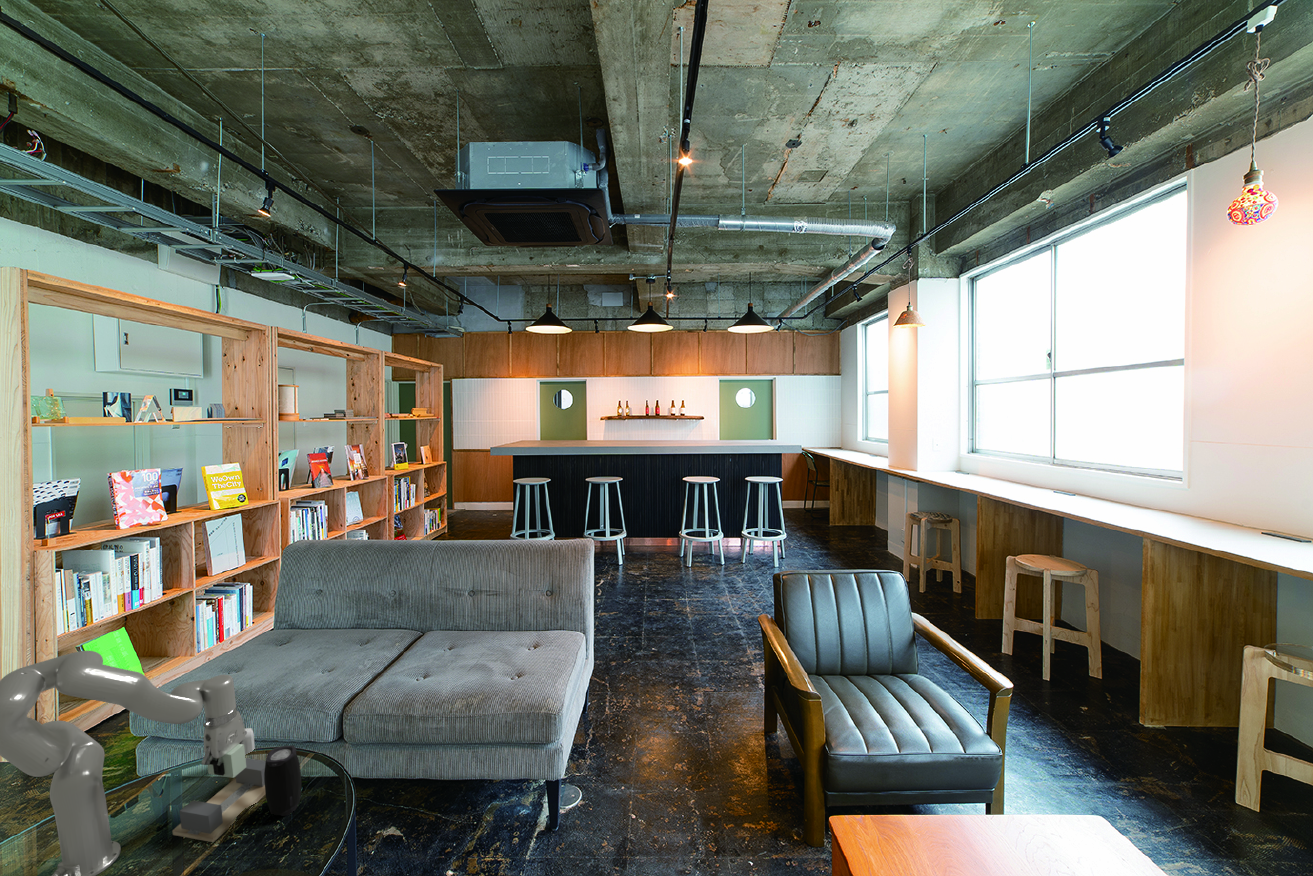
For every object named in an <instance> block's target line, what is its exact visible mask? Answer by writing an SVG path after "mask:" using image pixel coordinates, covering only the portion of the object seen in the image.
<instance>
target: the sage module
mask: <svg viewBox="0 0 1313 876" xmlns="http://www.w3.org/2000/svg"><path fill="white" fill-rule="evenodd" d="M210 760H211V757H210ZM216 760H217V758H216ZM222 763H223V764H224V772H225V774H224V775H223V776H221V775H217V776H220V777H226V778H232V779H235V778H236V775H238V774H239V773H240V772H241V771H242V770H244V769H245V768H246V758H245V749H244V745H243V744H238V745H236V746H235V747H234V748H233V749H231V750H230V751H229V752H227V753H226V754H225V755H224V756H222ZM206 766H207V772H208V774H209V775H213V776H216V775H215V774H214V769H213V765H206Z"/></svg>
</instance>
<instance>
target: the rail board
mask: <svg viewBox="0 0 1313 876" xmlns="http://www.w3.org/2000/svg"><path fill="white" fill-rule="evenodd" d="M265 763H266V760H263V759H256V758H255V759H250V758H246V768H245V769H244V770H242V771H241V772H240V773H239V774H238V775H236V776H235V777H234V778H233V779H232V781H230V782H229V783H228V784H227V785H225V786H224V787H223V788H222V789H221V790H219V791H218V792H217V793H216V794H215V795H214V796H212V797H211V798H209V799H208V800H207V801H206V802H204V801H199V800H194V799H193V800H192V801H190V802H189V803H187V804H186V805H185V806H183V808H181V809H180V810H179V817H180V823H179V824H178V825H177V826H176V827H175V828H174V829H172V836H178V837H183V838H188V839H195V840H198V841H199V840H201V841H205V842H209V843H214V842H215V841H217V839H219V838H220V837H221V836H222V835H223V834H224V833H225V832H227V831H228V830H229V829H230V828H231V827H230V825H232V824H233V823H234V821H235V819H236V817H237V816H238V815H239V814H240V813H241V812H242V811H243V810H244V809H245V808H248V807H249V806H251V805H253V804H255V803H256V804H257V803H258V802H259V801H261V799H263V798H264V797H265V796H266V793H265V783H264V772H265ZM256 804H255V805H256ZM234 824H235V823H234ZM234 824H233V825H234ZM233 825H232V826H233ZM229 827H230V828H229Z"/></svg>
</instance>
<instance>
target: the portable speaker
mask: <svg viewBox="0 0 1313 876" xmlns="http://www.w3.org/2000/svg"><path fill="white" fill-rule="evenodd" d="M265 761H266V763H265V772H264V783H265V793H266V794H265V799H266V802H267V805H268V809H269V812H270V815H271V814H274V815H273V816H282V817H287V816H289V815H291V814H293V813H294V812H295V811H296V810H297V809H298V805H299V804H300V802H301V795H302V773H301V764H300V763H301V762H300V760H299V757H298V754H297V748H296V746H295V745H282V746H276V747H275V748H272V749H271V750H270V751H269V752H268V753H267V755H266V758H265ZM293 811H294V812H293ZM290 813H291V814H290Z"/></svg>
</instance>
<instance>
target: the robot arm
mask: <svg viewBox="0 0 1313 876" xmlns="http://www.w3.org/2000/svg"><path fill="white" fill-rule="evenodd" d="M51 689H56V691H57V692H59V693H60V694H63V695H66V696H69V697H76V698H80V699H85V700H92V701H98V702H103V703H108V704H112V705H118V706H120V707H123V708H124V709H126V710H127V711H129V712H130V713H134V714H135V715H137V716H140V717H142V718H144V719H147V720H150V721H154V722H159V723H164V724H171V725H172V724H173V725H182V724H187V723H190V722H193V721H194V720H195V719H197V718H198V717H199V715H200V714H201V713H202V711H203V710H204V715H205V716H204V717H205V722H204V723H203V727H204V731H203V752H204V756H203V757H202V761H201V763H200V764H201V765H203V766H207V765H213V769H214V774H215V775H214V776H218V775H221V776H220V777H224V776H223V775H224V774H225V772H224V764H223V763H222V756H224V755H225V754H226V753H227V752H229V751H230V750H231V749H233V748H234V747H235V746H236V745H238V744H241V743H242V741H243V740H244V738H245V735H246V734H247V731H245V724H244V720H243V717H242V715H241V712H240V711H239V710H237V701H236V693H235V692H236V691H235V684H234V678H233V677H232V675H229V674H219V675H215V676H213V677H211V678H208V679H203V680H194V681H187V682H184V683H182V684H179V685H177V686H176V687H174V688H173V689H172V691H171V692H170V693H167V692H165V691H163V690H161V689H159V688H157V686H155V685H154V684H153V683H152V682H151V681H150V680H149V678H147V676H146V675H144V674H143V673H142V672H140V671H135V670H129V669H124V668H121V667H120V668H119V667H117V666H111V665H108V664H104V658H103V656H102V655H101V654H100V653H99V652H97V651H94V650H80V651H74V652H71V653H67V654H63V655H60V656H57V657H53V658H51V659H50V658H49V659H46V660H43V661H39V662H37V663H33V664H29V665H26V666H23V667H20V668H18V669H15V670H12V671H10V672H8V673H7V674H6V675H4V676H3V677H2V678H1V679H0V757H1V758H3V759H4V760H6V761H7V762H8V763H10V764H11V765H12V766H13V767H15V768H17V769H19V770H20V771H21V772H23V773H24V774H26V775H29V776H31V777H33V778H34V777H36V778H37V777H39V778H40V777H46V776H49V775H52V774H53V773H54V774H53V777H52V779H51V783H50V787H49V800H50V803H51V807H52V810H53V814H54V818H55V824H56V829H57V835H58V842H59V849H60V854H61V861H59V862H58V864H57V869H56V870H54V871H53V874H52V875H51V876H98V875H99V874H101V873H102V872H104V871H105V870H106V869H108V868H109V867H111V866H112V865H113V864H114V862H116V861H117V859H118V857H119V856H120V855H121V844H120V843H119V842H117V841H114V840H112V835H111V828H110V821H109V813H108V806H107V805H108V804H107V800H106V799H107V798H106V793H105V789H104V784H103V771H104V770H103V769H104V763H105V750H104V747H102V745H101V743H99V742H98V741H96V739H94V738H93V737H91V736H90V735H88V734H87V733H86V732H85V731H83V730H82V729H81V728H79V727H78V726H77V725H76V724H74V723H71V722H69V721H66V720H52V721H51V720H50V721H48V722H44V723H43V724H42V723H41V722H39V721H38V720H36V719H35V718H31V717H29V716H28V714H29V712H30V711H31V710H32V708H34V706H35V705H36V703H37V702H38V699H39V697H40V695H41V693H43V692H47V691H49V690H51ZM203 707H204V709H203ZM210 757H211V760H210ZM216 758H217V760H216Z"/></svg>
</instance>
